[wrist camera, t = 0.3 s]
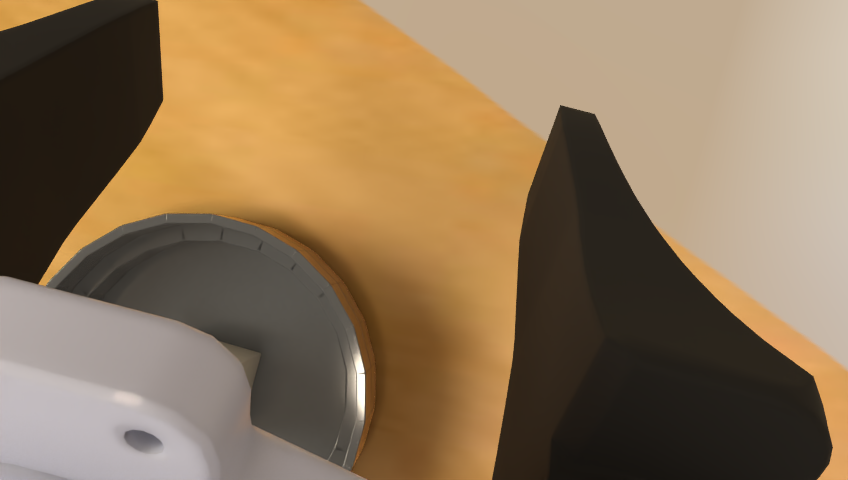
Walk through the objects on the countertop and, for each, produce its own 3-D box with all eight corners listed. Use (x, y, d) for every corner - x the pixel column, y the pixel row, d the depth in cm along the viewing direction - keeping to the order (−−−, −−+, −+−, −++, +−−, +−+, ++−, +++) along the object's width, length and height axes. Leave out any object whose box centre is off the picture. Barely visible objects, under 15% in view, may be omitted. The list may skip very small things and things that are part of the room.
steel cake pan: (326, 583, 43) (310, 621, 38) (21, 489, 44) (-30, 516, 39) (414, 266, 43) (408, 268, 38) (107, 181, 44) (66, 172, 39)
